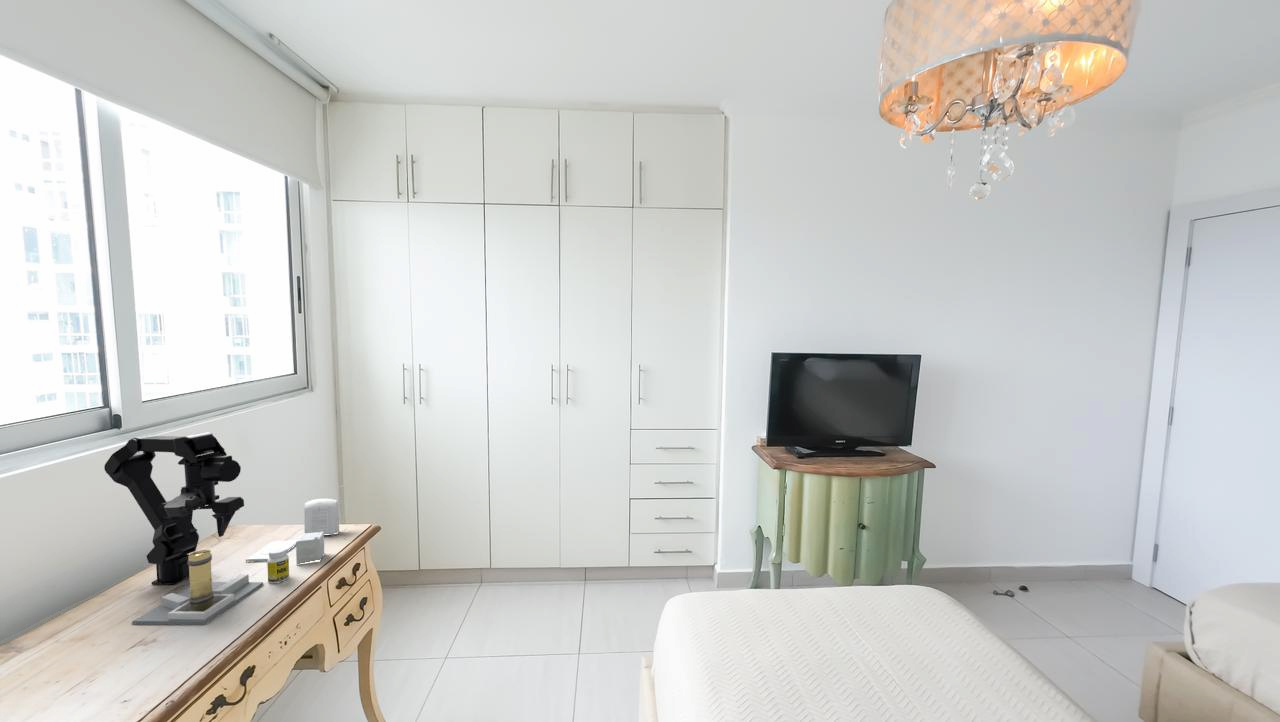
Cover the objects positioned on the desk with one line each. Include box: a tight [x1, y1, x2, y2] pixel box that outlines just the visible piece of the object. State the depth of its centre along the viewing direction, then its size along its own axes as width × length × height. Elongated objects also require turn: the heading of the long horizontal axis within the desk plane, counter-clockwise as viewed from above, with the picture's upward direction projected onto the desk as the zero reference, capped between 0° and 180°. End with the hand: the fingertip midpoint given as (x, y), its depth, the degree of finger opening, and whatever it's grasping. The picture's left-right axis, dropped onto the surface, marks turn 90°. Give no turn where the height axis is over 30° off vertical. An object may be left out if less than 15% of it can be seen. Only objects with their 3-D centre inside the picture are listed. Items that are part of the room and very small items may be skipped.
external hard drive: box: [245, 540, 297, 563], centre depth 153 cm, size 2×8×12 cm
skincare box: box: [295, 532, 325, 565], centre depth 148 cm, size 6×6×7 cm
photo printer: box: [303, 498, 340, 534], centre depth 166 cm, size 10×4×12 cm, turn 103°
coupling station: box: [131, 573, 264, 626], centre depth 124 cm, size 17×18×3 cm
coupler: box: [188, 549, 214, 612], centre depth 120 cm, size 4×4×14 cm
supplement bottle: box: [266, 547, 290, 584], centre depth 136 cm, size 5×5×8 cm
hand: (204, 536), depth 133 cm, fingers open, 9 cm apart
